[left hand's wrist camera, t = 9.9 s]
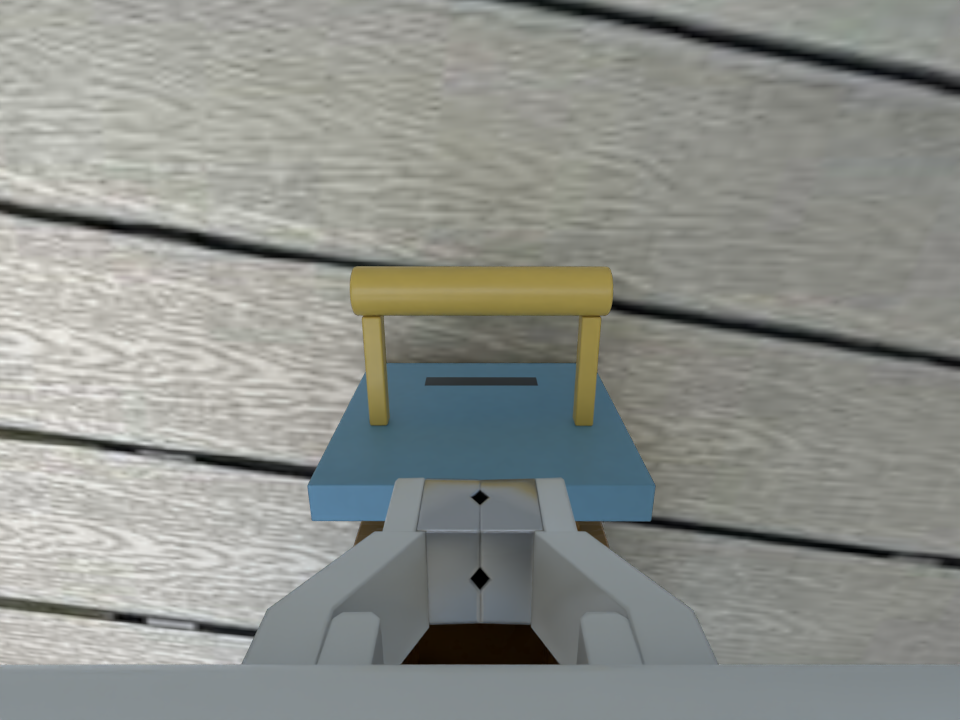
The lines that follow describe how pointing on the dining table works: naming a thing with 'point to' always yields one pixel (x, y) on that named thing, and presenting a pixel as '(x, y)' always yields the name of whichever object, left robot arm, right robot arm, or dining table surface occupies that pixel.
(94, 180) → the dining table surface
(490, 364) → the drawer
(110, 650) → the dining table surface
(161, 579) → the dining table surface
